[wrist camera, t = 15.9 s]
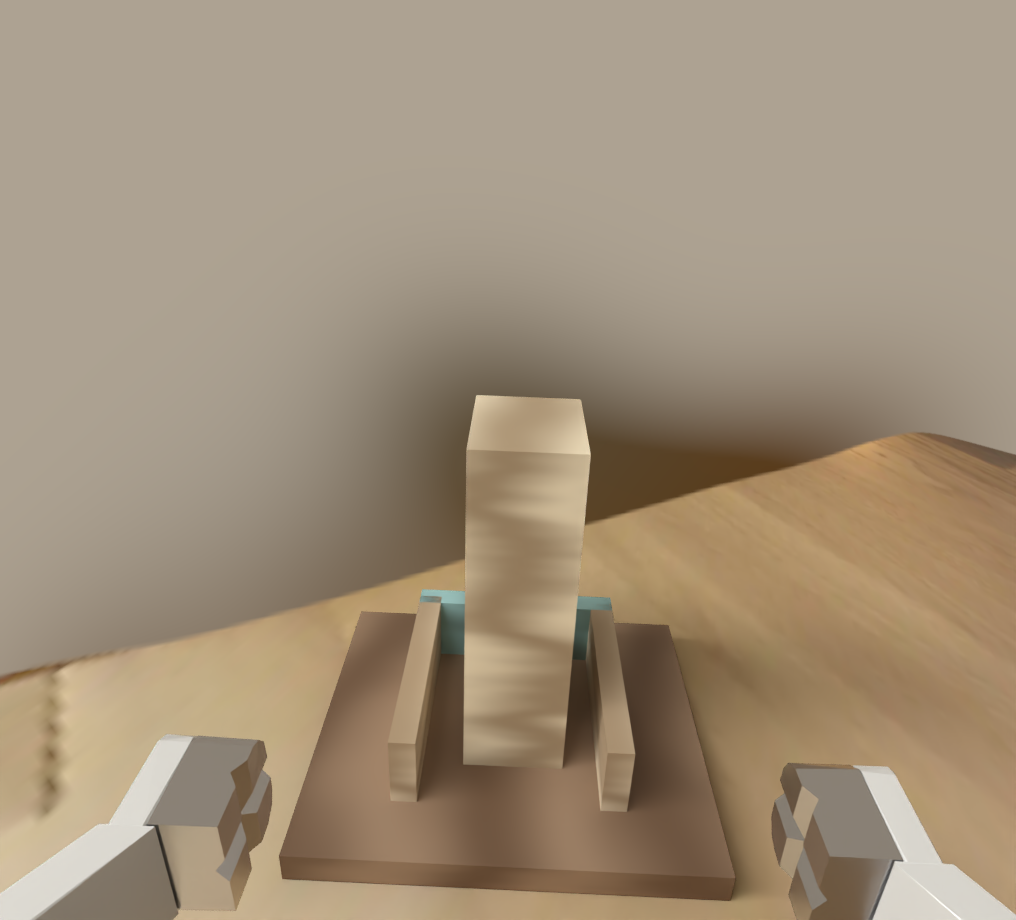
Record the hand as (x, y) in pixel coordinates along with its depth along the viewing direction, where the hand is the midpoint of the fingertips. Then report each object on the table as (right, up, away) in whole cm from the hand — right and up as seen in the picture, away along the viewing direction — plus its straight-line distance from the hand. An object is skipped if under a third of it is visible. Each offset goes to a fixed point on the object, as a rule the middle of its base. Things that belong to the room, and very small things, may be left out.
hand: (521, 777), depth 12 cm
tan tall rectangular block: (0, -6, +20) cm, 21 cm away
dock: (0, -7, +21) cm, 22 cm away
